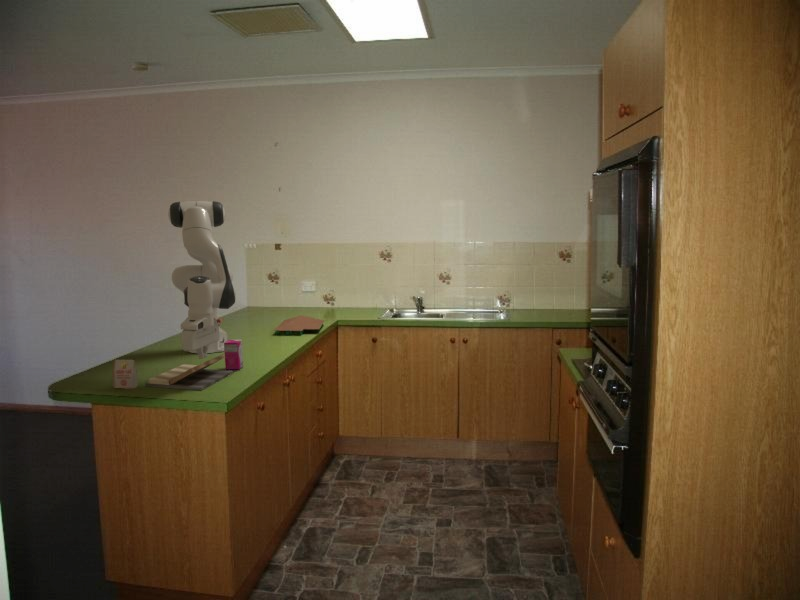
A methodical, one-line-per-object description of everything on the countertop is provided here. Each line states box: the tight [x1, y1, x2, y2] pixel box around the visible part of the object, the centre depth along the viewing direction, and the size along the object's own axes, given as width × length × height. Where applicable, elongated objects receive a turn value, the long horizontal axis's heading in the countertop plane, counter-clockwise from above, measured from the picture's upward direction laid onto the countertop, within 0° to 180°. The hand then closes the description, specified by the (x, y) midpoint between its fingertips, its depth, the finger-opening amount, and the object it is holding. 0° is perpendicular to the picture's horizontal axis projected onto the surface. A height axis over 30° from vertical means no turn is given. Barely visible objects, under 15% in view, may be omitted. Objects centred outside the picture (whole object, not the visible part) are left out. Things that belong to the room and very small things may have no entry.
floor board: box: [145, 363, 234, 392], centre depth 210 cm, size 23×22×3 cm
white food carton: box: [112, 359, 139, 390], centre depth 199 cm, size 4×7×10 cm, turn 91°
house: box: [273, 314, 326, 336], centre depth 307 cm, size 23×33×8 cm
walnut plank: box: [170, 353, 225, 384], centre depth 209 cm, size 22×10×2 cm, turn 169°
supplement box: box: [223, 339, 244, 371], centre depth 225 cm, size 6×6×12 cm
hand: (202, 357), depth 208 cm, fingers closed
